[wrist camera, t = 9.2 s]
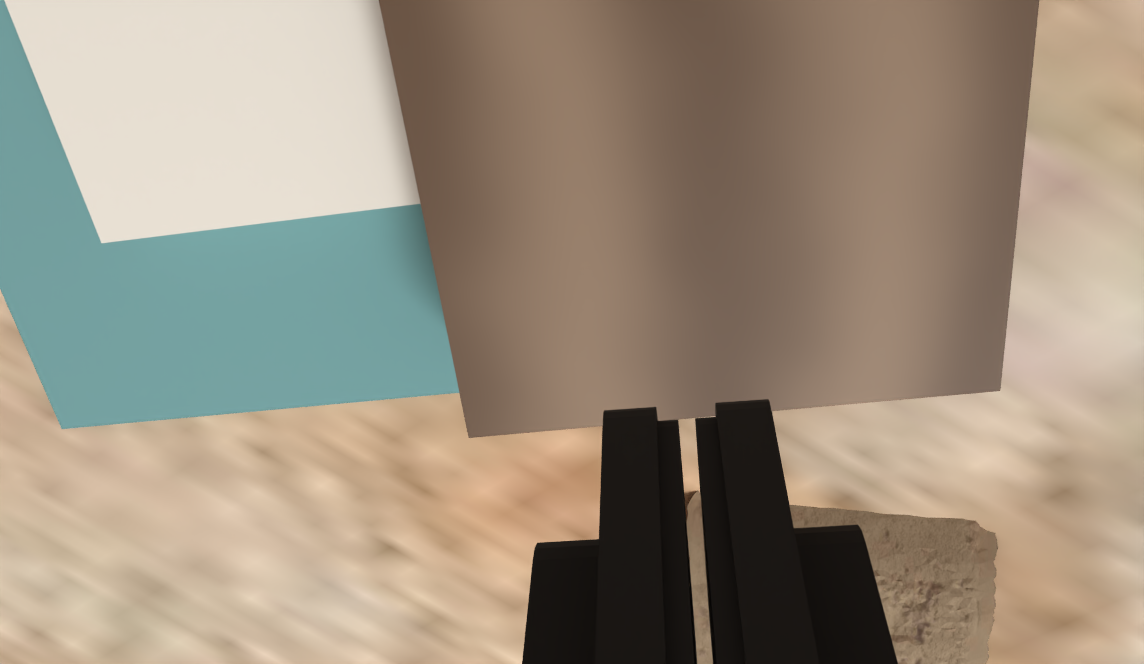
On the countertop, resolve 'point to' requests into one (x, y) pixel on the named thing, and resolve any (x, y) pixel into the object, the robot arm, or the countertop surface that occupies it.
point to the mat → (204, 295)
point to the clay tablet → (898, 580)
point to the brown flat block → (715, 198)
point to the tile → (220, 109)
